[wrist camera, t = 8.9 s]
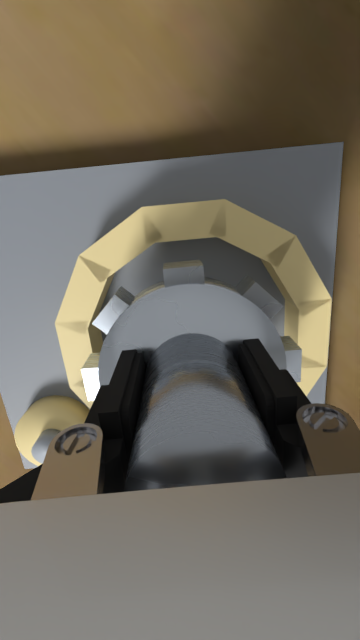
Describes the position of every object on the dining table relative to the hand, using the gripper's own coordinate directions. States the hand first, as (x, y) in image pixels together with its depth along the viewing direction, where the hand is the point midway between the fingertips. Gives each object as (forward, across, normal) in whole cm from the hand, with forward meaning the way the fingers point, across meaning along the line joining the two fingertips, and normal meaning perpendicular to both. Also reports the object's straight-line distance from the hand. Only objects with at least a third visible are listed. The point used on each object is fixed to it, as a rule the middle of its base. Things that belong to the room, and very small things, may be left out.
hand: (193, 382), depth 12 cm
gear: (+2, 0, 0) cm, 2 cm away
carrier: (+7, +2, 0) cm, 7 cm away
